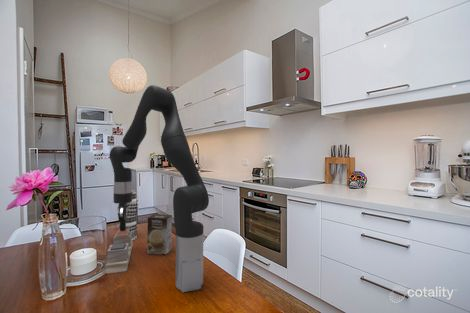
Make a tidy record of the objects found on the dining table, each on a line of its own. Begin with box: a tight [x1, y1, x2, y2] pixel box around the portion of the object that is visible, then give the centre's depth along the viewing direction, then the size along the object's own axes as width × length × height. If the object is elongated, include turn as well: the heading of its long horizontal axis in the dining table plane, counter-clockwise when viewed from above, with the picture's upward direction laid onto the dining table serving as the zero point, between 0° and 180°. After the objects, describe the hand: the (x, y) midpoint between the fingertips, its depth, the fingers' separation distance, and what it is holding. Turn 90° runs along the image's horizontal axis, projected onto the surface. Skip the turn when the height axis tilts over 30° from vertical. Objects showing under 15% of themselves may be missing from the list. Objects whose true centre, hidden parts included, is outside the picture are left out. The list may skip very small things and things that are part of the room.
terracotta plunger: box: [116, 228, 129, 237], centre depth 103 cm, size 4×4×5 cm
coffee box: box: [146, 213, 173, 256], centre depth 104 cm, size 9×6×16 cm
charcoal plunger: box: [111, 243, 125, 250], centre depth 90 cm, size 4×4×5 cm
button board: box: [105, 232, 133, 275], centre depth 97 cm, size 24×7×8 cm, turn 19°
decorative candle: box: [117, 188, 139, 241], centre depth 120 cm, size 9×9×25 cm
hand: (122, 230), depth 103 cm, fingers closed
